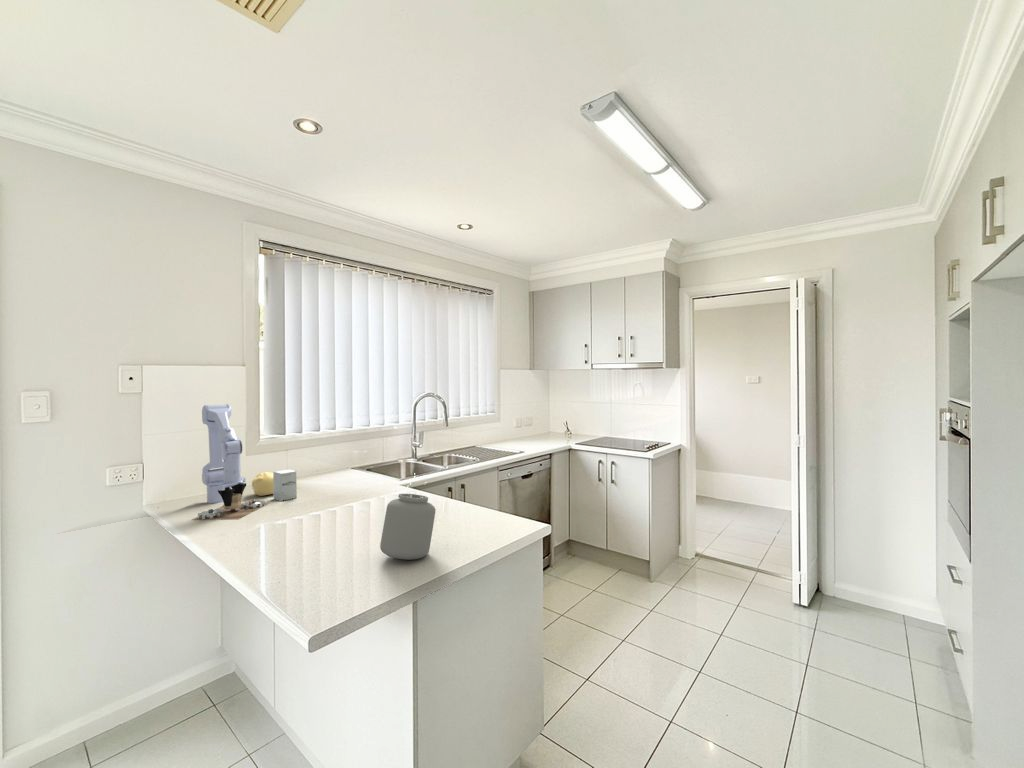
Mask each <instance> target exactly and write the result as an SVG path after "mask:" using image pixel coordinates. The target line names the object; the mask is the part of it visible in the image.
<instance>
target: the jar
mask: <svg viewBox="0 0 1024 768" xmlns="http://www.w3.org/2000/svg"><path fill="white" fill-rule="evenodd" d="M413 478H416V473H415V472H414V475H413ZM416 483H419V481H417V482H416ZM426 483H428V482H427V481H425V484H426ZM409 485H412V482H411V483H409ZM409 485H407V486H406V487H407V490H408V489H409ZM403 492H406V490H404V491H403ZM397 496H398V497H397ZM396 497H397V498H395V499H392V500H391V501H389V502H388V503H387V506H386V509H385V516H384V520H383V527H382V532H381V538H380V543H379V545H380V546H379V549H380V550H381V552H382V553H383V554H384V555H386V556H388V557H390V558H392V559H400V560H420V559H422V558H424V557H425V556H427V555H428V554H429V553H430V549H431V548H430V547H431V543H432V539H433V538H434V537H433V530H434V524H435V523H434V522H435V517H436V507H435V506H434V505H433V504H432V503H430V502H429V497H428V496H425V495H421V494H417V493H415V494H414V493H398V495H396ZM436 535H437V534H435V536H436Z"/></svg>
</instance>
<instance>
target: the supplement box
mask: <svg viewBox="0 0 1024 768" xmlns="http://www.w3.org/2000/svg"><path fill="white" fill-rule="evenodd" d="M272 473H273V489H274V494H273V500H275V499H276V501H278V500H279V502H283V500H284V501H288V500H293V499H297V498H296V497H298V496H297V493H298V492H297V489H298V488H297V470H293V469H284V470H276V471H273V472H272ZM292 498H293V499H292Z"/></svg>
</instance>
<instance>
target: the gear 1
mask: <svg viewBox="0 0 1024 768" xmlns="http://www.w3.org/2000/svg"><path fill="white" fill-rule="evenodd" d="M215 509H216V510H215ZM215 509H212V508H210V509H208V510H204V511H201V512H198V513H197V517H198V519H202V520H201V521H206V520H205V519H209V518H210V519H213V518H215V517H217V518H218V517H220V516H222V515H224V511H223V510H219V509H217V508H215Z"/></svg>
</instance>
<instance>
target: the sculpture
mask: <svg viewBox="0 0 1024 768" xmlns="http://www.w3.org/2000/svg"><path fill="white" fill-rule="evenodd" d="M251 487H252V492H253V493H254V494H256V495H257V496H258V497H262V496H269V495H274V489H273V472H270V471H265V472H259V473H258V474H257V475H256V476H255V477H254V479H253V480H252V481H251Z"/></svg>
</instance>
